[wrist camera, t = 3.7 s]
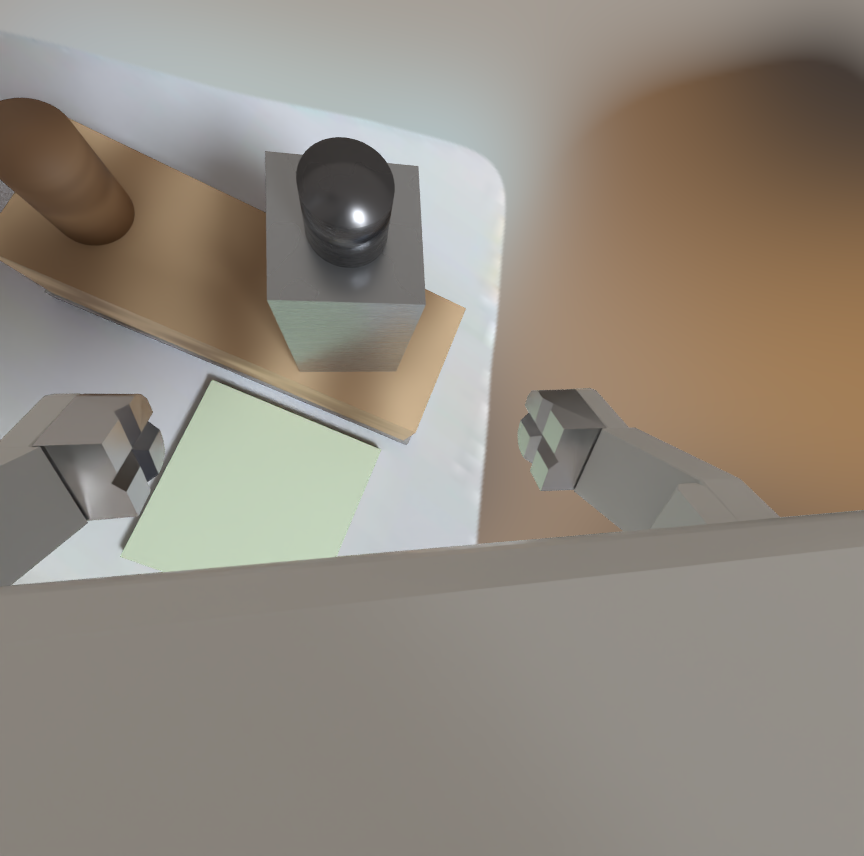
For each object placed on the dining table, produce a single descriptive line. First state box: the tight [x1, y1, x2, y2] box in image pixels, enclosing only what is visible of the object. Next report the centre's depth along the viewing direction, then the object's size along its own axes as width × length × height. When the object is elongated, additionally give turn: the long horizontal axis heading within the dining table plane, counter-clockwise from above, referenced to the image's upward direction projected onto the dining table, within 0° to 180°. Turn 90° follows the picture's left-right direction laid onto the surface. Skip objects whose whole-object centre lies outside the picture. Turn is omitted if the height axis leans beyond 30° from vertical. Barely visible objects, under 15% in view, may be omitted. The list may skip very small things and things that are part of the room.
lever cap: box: [265, 137, 426, 372], centre depth 15 cm, size 4×4×10 cm
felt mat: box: [120, 380, 381, 572], centre depth 23 cm, size 10×10×1 cm
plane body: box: [0, 98, 466, 445], centre depth 20 cm, size 21×7×9 cm, turn 68°
